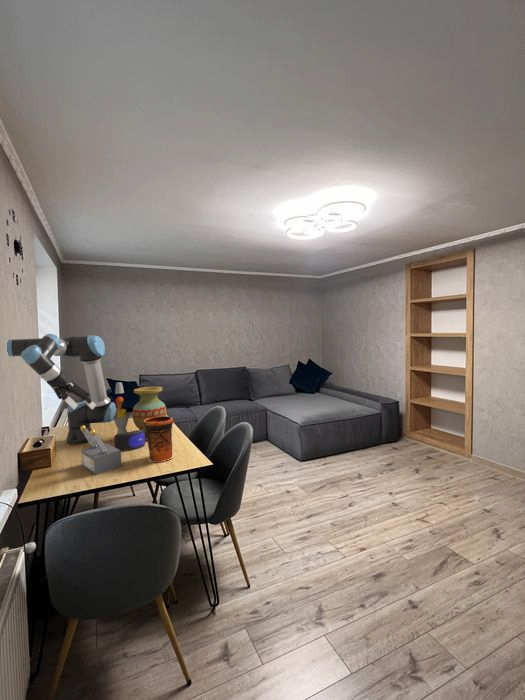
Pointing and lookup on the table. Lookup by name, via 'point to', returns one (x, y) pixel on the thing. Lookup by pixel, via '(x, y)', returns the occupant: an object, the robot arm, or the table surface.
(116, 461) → the console
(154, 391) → the vase
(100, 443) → the lever
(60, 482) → the table surface
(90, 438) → the lever
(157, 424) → the vessel
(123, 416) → the lava lamp
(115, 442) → the dark grey curved slab
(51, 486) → the table surface
